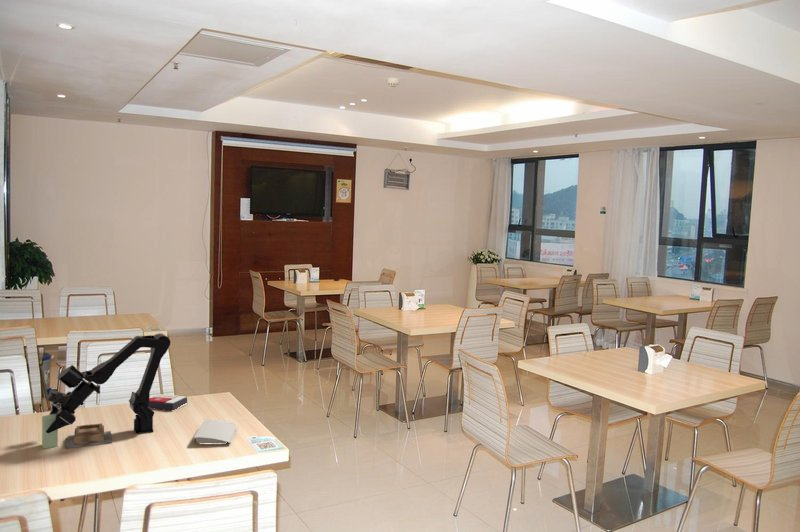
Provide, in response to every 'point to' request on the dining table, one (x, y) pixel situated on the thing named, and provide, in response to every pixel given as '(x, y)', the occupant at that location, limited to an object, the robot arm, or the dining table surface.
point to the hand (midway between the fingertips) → (45, 428)
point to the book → (215, 431)
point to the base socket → (89, 436)
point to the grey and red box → (167, 402)
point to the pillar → (52, 437)
